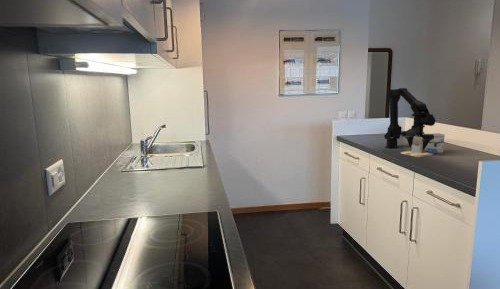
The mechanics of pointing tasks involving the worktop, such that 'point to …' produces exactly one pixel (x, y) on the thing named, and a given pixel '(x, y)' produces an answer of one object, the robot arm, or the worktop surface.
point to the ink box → (436, 143)
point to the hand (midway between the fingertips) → (416, 148)
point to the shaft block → (417, 154)
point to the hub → (416, 149)
